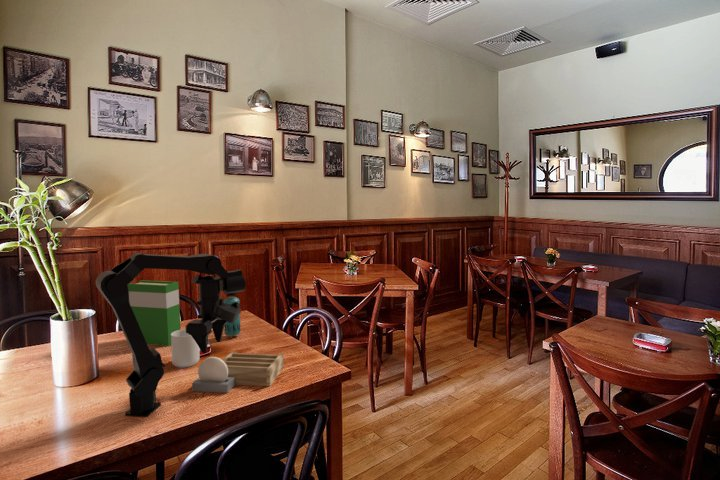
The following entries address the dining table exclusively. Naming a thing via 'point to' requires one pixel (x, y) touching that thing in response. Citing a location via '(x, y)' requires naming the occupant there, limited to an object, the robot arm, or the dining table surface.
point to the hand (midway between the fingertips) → (211, 347)
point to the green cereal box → (156, 309)
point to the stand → (213, 385)
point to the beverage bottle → (235, 326)
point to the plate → (213, 370)
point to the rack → (254, 368)
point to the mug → (184, 349)
